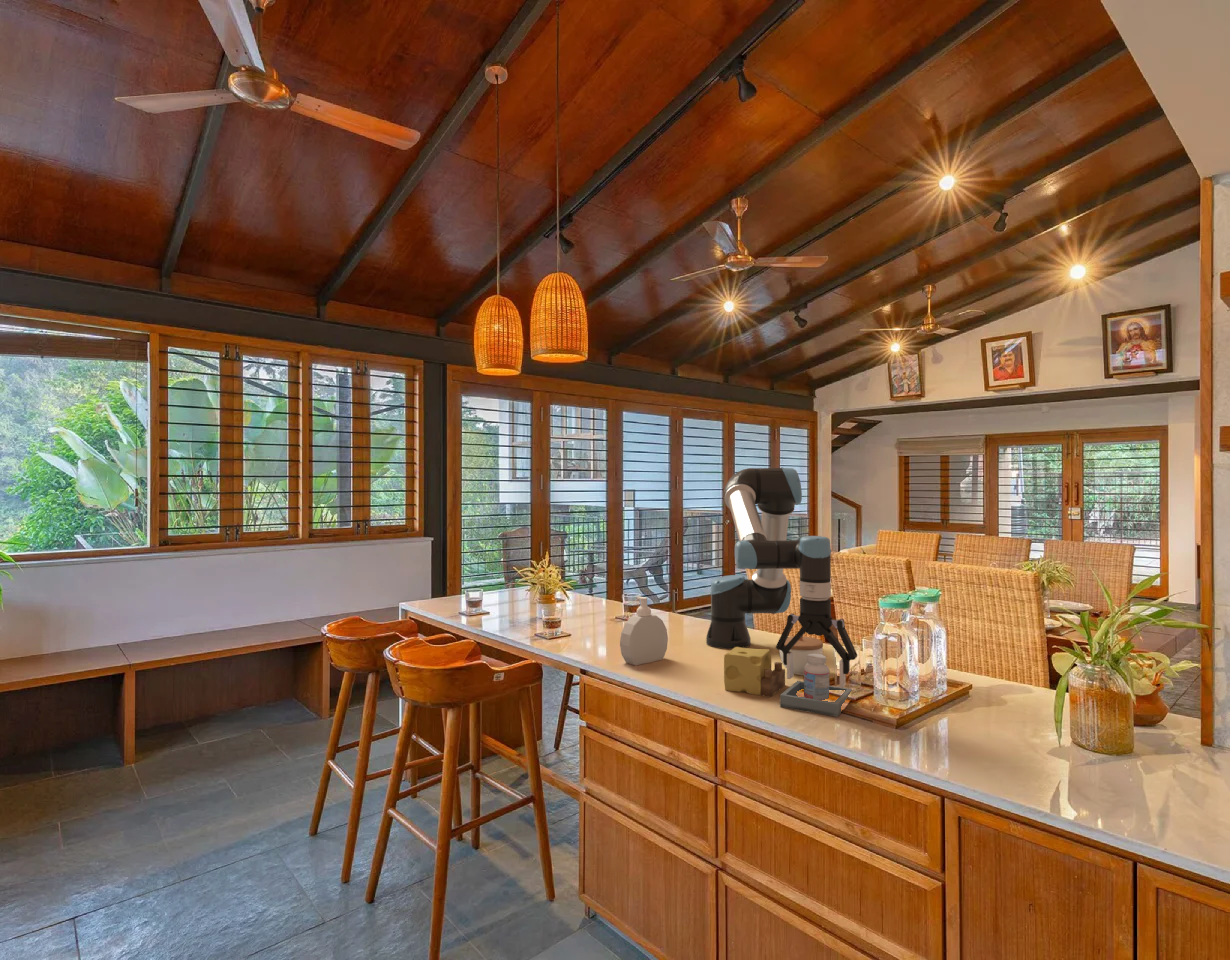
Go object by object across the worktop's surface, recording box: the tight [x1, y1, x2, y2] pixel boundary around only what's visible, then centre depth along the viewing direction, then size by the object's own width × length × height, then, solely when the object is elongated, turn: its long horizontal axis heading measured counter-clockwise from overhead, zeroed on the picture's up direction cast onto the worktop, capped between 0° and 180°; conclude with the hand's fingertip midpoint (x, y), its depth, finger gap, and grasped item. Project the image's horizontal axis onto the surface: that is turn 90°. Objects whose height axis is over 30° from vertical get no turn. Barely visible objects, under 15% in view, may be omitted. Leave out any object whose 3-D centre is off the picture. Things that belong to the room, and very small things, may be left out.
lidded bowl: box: [779, 635, 824, 676], centre depth 197 cm, size 13×13×11 cm
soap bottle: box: [619, 596, 669, 666], centre depth 211 cm, size 16×5×20 cm, turn 127°
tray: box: [779, 680, 853, 718], centre depth 169 cm, size 14×14×3 cm
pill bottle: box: [803, 654, 830, 700], centre depth 169 cm, size 6×6×11 cm
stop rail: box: [760, 661, 786, 698], centre depth 180 cm, size 12×2×6 cm, turn 147°
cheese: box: [723, 647, 772, 696], centre depth 183 cm, size 10×11×10 cm
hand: (815, 682), depth 169 cm, fingers open, 12 cm apart
